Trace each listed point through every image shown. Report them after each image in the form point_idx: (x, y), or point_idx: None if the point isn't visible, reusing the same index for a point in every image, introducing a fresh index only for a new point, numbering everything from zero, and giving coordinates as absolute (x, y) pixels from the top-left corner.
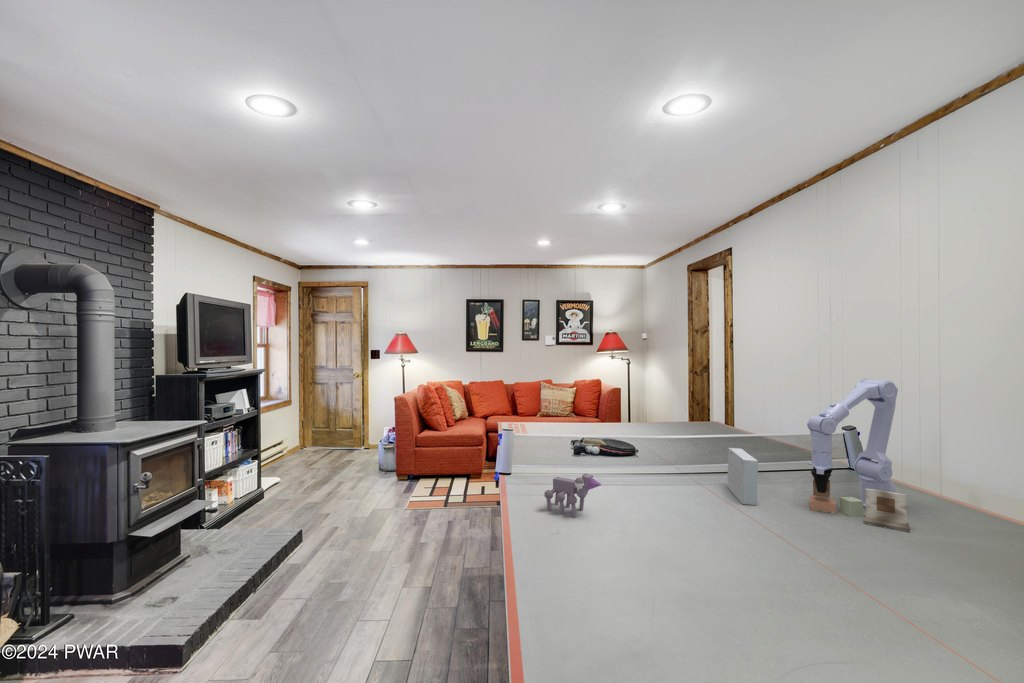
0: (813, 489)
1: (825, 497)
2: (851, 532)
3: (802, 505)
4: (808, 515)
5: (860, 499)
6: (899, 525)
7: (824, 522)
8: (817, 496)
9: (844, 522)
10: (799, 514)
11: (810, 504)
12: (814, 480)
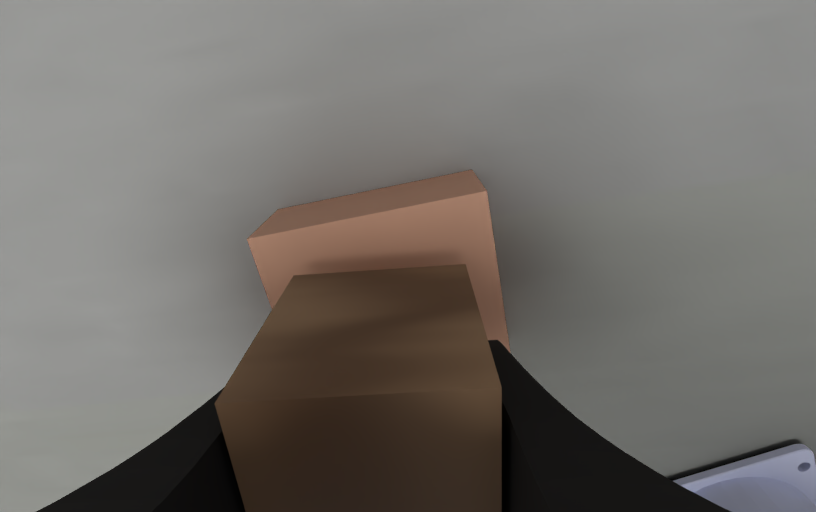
0: (273, 314)
1: (486, 335)
2: (3, 474)
3: (365, 121)
4: (100, 219)
5: (744, 496)
6: None
7: (40, 337)
8: (468, 270)
9: (166, 430)
10: (56, 151)
11: (326, 207)
12: (256, 418)
